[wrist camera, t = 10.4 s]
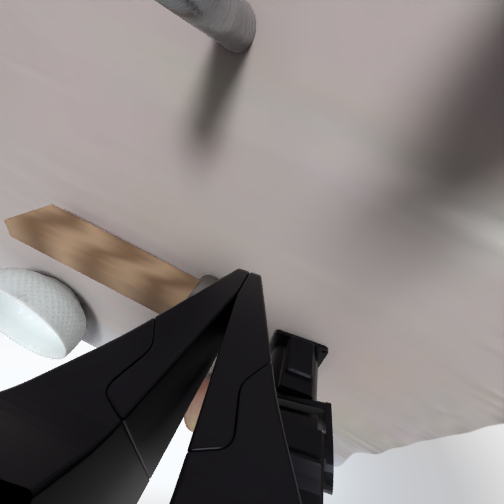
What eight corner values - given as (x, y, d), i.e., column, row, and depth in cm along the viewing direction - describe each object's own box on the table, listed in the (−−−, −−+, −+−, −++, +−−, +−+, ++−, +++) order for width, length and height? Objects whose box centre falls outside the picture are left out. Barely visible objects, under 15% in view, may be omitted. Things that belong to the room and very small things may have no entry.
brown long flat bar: (226, 283, 24) (201, 324, 20) (219, 299, 26) (194, 341, 21) (60, 197, 25) (-4, 217, 20) (64, 218, 27) (5, 242, 22)
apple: (197, 379, 40) (172, 430, 34) (203, 359, 36) (175, 413, 29) (236, 398, 40) (219, 453, 33) (247, 379, 35) (229, 439, 29)
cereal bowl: (78, 333, 45) (41, 364, 39) (8, 271, 40) (-46, 298, 34) (120, 318, 37) (81, 356, 31) (38, 238, 31) (-26, 266, 26)
